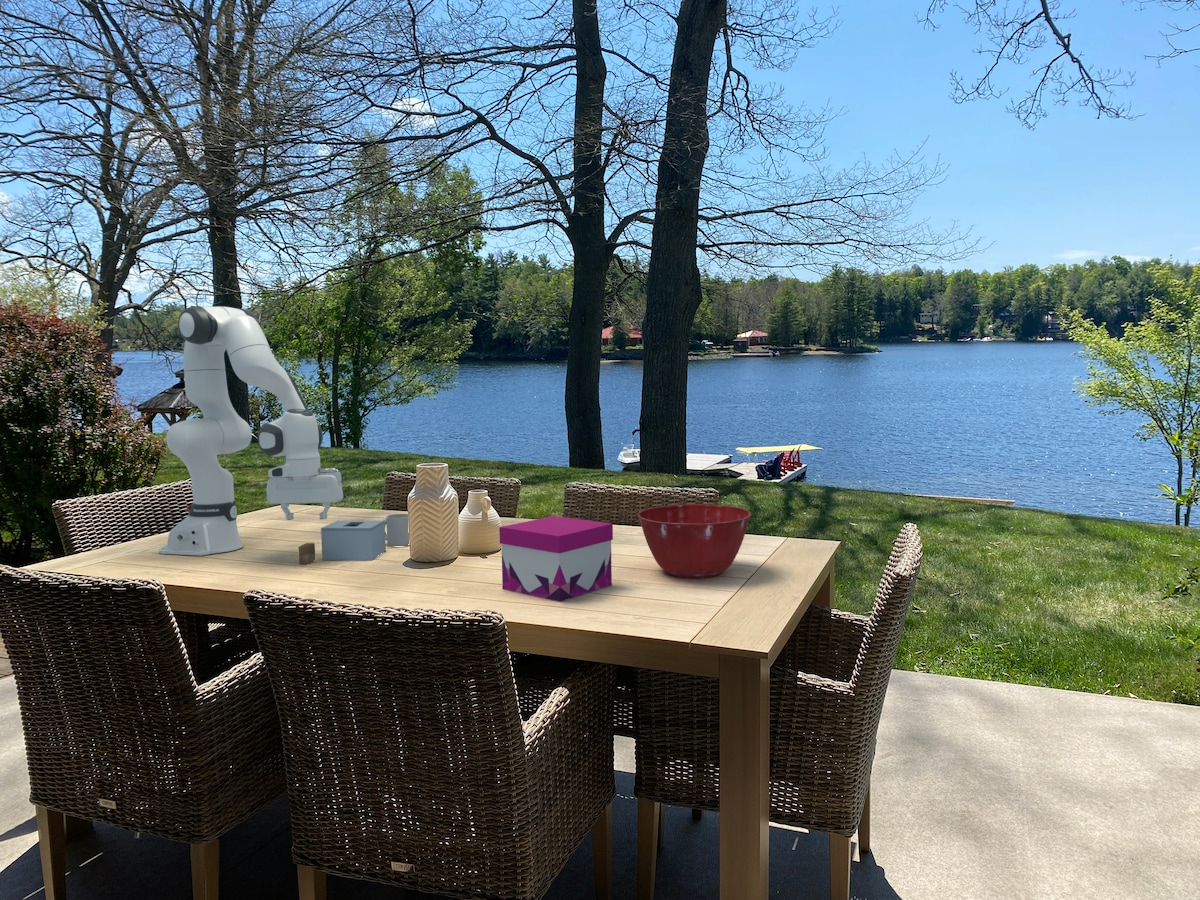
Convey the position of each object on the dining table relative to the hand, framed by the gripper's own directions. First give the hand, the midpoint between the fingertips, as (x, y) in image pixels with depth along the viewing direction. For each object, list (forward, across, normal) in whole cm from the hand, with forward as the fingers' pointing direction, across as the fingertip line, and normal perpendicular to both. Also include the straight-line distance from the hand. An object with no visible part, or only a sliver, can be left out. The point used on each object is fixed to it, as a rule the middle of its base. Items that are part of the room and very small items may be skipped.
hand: (306, 519), depth 228 cm
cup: (+12, -16, -24) cm, 32 cm away
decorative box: (+14, -71, +24) cm, 77 cm away
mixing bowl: (+14, -104, +9) cm, 106 cm away
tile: (+12, +1, 0) cm, 12 cm away
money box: (+12, -9, -9) cm, 18 cm away
